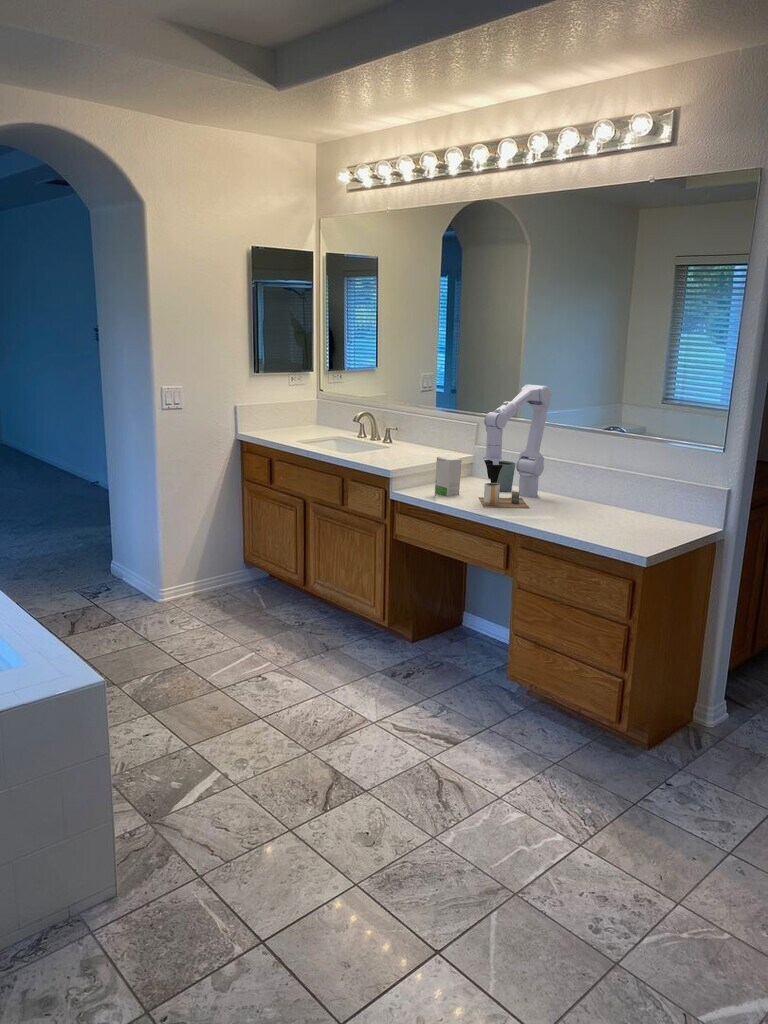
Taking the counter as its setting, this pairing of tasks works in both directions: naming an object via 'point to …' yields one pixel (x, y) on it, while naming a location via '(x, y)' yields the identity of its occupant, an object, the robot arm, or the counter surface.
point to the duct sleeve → (491, 493)
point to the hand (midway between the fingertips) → (492, 480)
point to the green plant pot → (506, 476)
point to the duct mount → (507, 502)
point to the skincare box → (447, 475)
